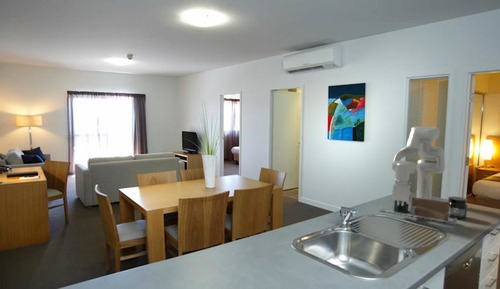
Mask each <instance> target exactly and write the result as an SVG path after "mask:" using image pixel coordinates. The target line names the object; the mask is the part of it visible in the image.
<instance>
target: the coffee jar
mask: <svg viewBox="0 0 500 289" xmlns="http://www.w3.org/2000/svg"><path fill="white" fill-rule="evenodd" d="M393 203H394V205H393V211H397V212H398V205H397V204H396V203H395V202H393ZM401 204H402V201H400V205H401ZM409 205H410V204H405V205H404V206H403V211H402V212H403V213H407V212H408V211H409Z"/></svg>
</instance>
